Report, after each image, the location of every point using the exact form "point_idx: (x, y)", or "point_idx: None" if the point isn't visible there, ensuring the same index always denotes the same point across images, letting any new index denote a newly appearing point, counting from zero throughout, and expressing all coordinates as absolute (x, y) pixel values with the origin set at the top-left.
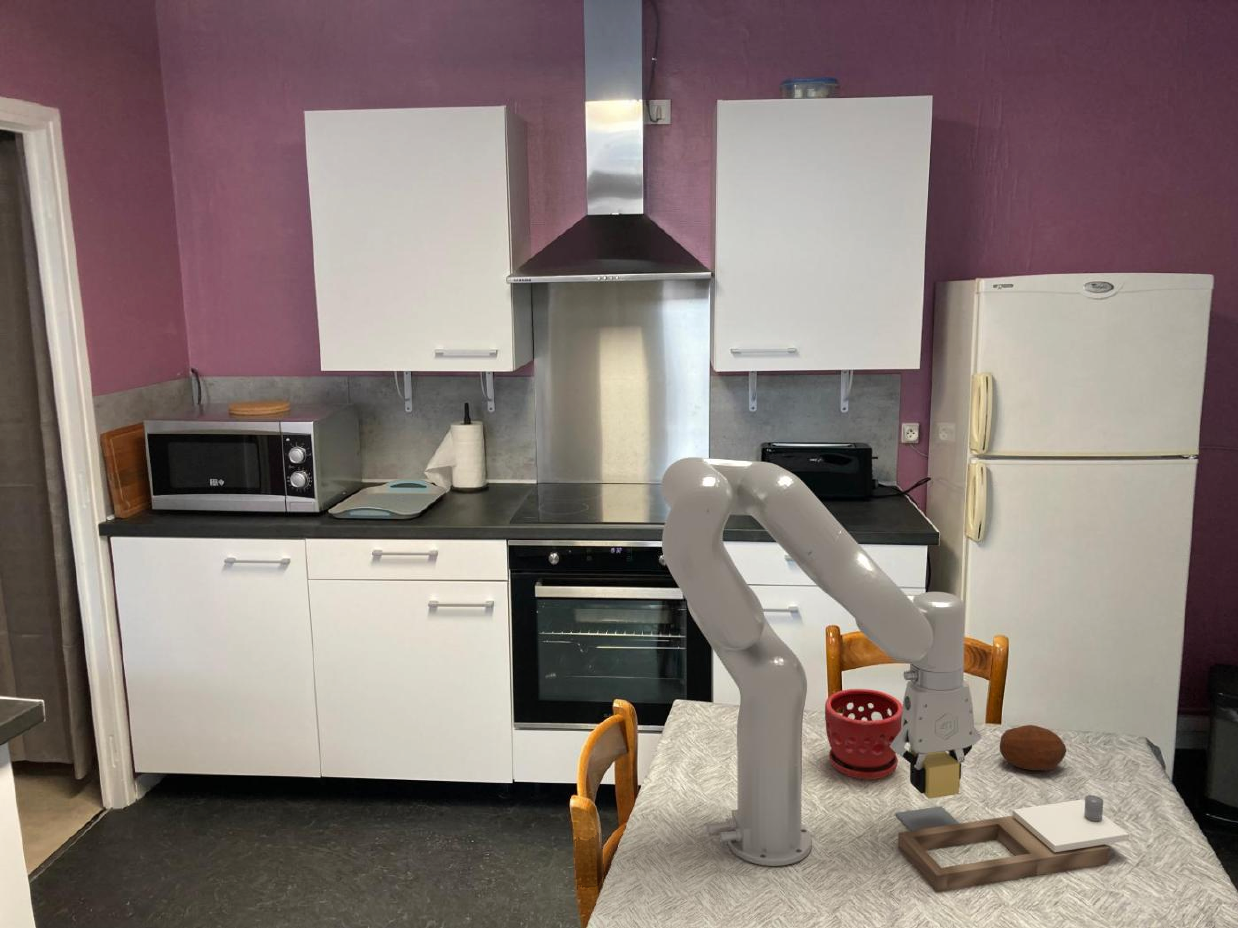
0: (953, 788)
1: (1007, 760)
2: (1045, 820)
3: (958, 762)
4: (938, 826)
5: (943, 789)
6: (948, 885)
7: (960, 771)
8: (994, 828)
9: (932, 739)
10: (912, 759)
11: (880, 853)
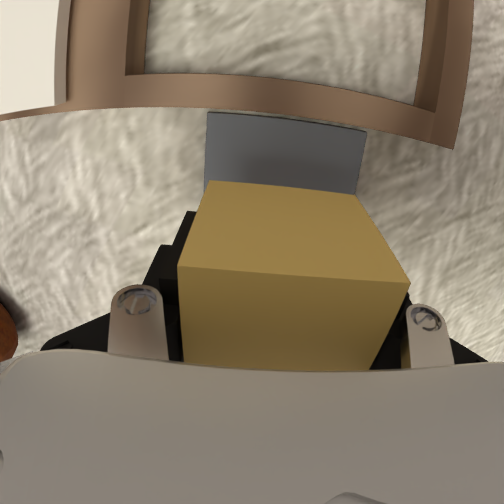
0: (235, 193)
1: (12, 324)
2: (12, 38)
3: (154, 297)
4: (274, 170)
5: (289, 200)
6: None
7: (154, 263)
8: (142, 74)
9: (500, 474)
10: (453, 356)
11: (473, 141)
